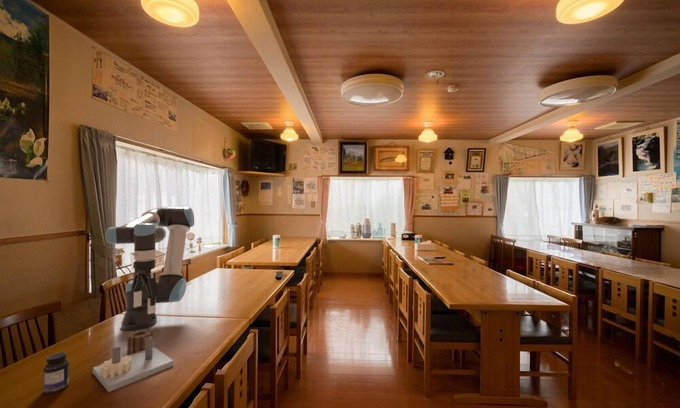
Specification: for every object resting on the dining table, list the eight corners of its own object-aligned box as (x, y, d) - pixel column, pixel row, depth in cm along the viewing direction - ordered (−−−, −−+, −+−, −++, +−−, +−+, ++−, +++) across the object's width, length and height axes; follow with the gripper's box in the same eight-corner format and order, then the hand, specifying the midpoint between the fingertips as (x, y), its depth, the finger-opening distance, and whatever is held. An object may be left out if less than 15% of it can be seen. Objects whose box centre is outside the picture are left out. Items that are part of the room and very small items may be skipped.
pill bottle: (54, 383, 100) (55, 351, 101) (73, 382, 101) (74, 350, 101) (37, 395, 94) (38, 360, 94) (58, 394, 95) (58, 359, 95)
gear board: (92, 373, 107) (93, 345, 107) (153, 351, 123) (154, 327, 123) (108, 392, 96) (108, 361, 96) (173, 365, 112) (173, 339, 112)
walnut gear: (123, 350, 123) (123, 334, 123) (147, 343, 130) (148, 327, 130) (131, 357, 118) (131, 340, 118) (156, 349, 125) (156, 332, 125)
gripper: (122, 257, 129) (122, 306, 129) (148, 264, 115) (147, 319, 115) (141, 255, 135) (141, 301, 135) (168, 261, 121) (168, 313, 121)
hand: (144, 309), depth 125 cm, fingers open, 13 cm apart
